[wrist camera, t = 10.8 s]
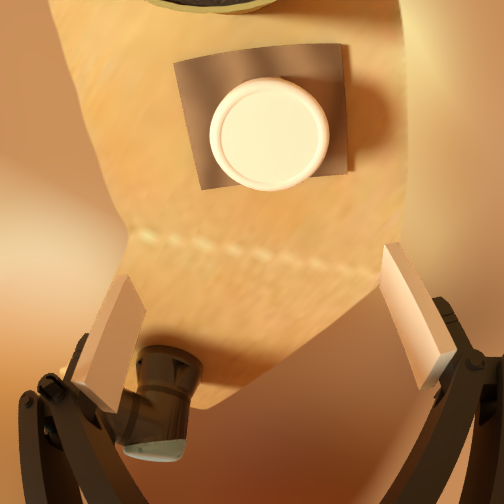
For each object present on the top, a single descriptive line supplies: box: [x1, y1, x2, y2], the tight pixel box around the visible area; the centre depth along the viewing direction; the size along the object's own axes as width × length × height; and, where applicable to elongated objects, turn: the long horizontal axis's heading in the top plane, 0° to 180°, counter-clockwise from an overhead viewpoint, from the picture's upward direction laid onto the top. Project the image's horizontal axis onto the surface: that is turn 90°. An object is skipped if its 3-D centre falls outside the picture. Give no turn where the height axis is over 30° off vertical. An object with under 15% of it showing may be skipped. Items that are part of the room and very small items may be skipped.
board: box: [174, 44, 348, 190], centre depth 31 cm, size 18×16×1 cm
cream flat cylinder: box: [210, 77, 329, 191], centre depth 25 cm, size 10×10×4 cm
